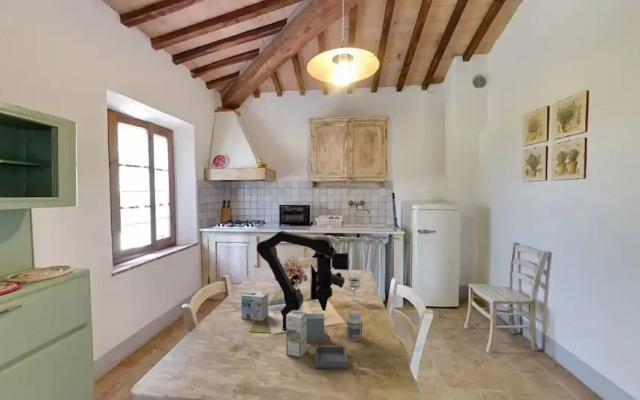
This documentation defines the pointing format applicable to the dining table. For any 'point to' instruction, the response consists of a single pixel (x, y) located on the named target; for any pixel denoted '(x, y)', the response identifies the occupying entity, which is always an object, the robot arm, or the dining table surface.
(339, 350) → the parts tray
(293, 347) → the syrup box
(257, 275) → the dining table surface
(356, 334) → the pill bottle
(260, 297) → the light bulb box
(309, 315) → the mounted unit
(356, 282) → the wineglass
